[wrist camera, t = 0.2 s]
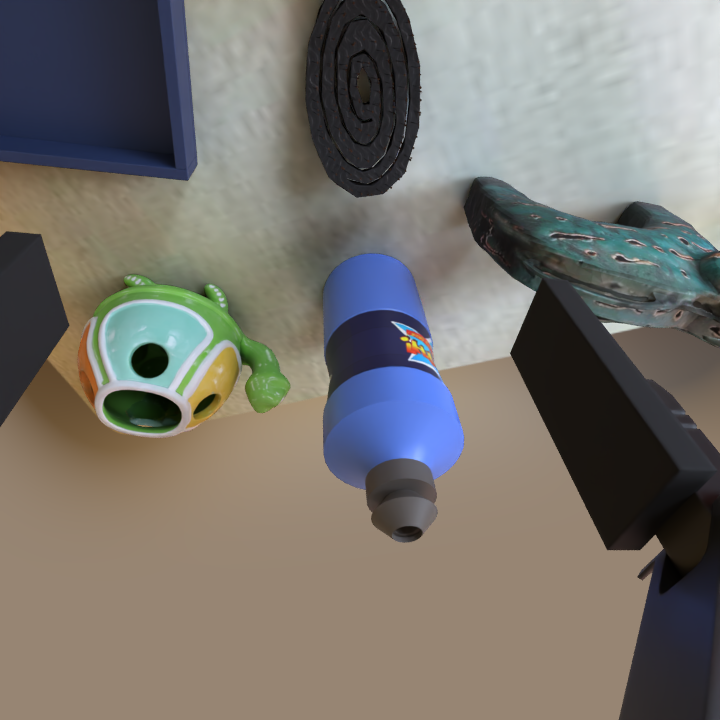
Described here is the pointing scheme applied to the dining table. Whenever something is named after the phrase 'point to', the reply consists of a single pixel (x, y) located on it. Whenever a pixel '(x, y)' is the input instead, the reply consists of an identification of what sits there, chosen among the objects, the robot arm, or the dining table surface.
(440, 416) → the water bottle
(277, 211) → the dining table surface
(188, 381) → the turtle holder
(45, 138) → the tray
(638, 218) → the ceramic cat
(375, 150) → the hairbrush
